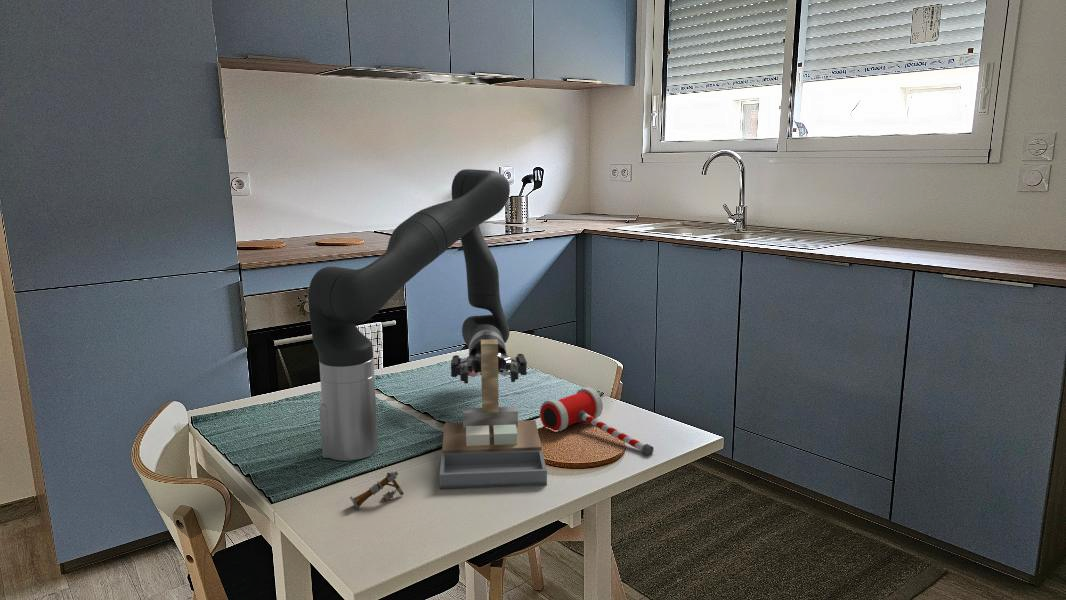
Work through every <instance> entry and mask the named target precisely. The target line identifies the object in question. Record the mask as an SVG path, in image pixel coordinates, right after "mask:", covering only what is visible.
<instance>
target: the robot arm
mask: <svg viewBox="0 0 1066 600" xmlns="http://www.w3.org/2000/svg"><path fill="white" fill-rule="evenodd" d="M510 191H511V185H510V183H509V180H508V178H507V177H506V176H505V175H504V174H502V173H500V172H498V171H495V170H491V169H490V170H489V169H488V170H487V169H474V168H473V169H472V168H471V169H470V168H469V169H468V168H467V169H466V168H465V169H461V170H459V171H458V172H457V173H456V174H455V175H454V176H453V179H452V184H451V200H448V201H447V200H446V201H444V202H441V203H436V204H434V205H431V206H428V207H425V208H423V209H420V210H419V211H417V212H415V213H413V214H412V215H410V216H409V217H408V218H406V219H405V220H404V221H402V222H401V223H400V224H399V225H398V226H396V227H395V228H394V230H393V231H392V233H391V235H390V237H389V240H388V243H387V247H386V250H385V252H384V254H382V255H381V256H380V257H378V258H377V259H375V260H374V261H373V262H371V263H370V264H368V265H366V266H364V267H362V268H358V269H356V268H355V269H354V268H349V267H348V268H347V267H340V266H326V267H322V268H320V269H319V270H317V271H316V273H315V274H314V275H313V277H312V278H311V280H310V284H309V287H308V295H307V298H308V299H307V302H308V303H307V304H308V305H307V306H308V312H309V320H310V321H309V322H310V330H311V337H312V341H313V345H314V347H315V349H316V351H317V354H318V361H319V378H320V392H321V403H320V405H319V407H318V410H319V420H320V422H319V423H320V435H321V436H320V437H321V453H322V458H325V459H326V458H329V459H332V460H335V461H341V462H342V461H344V462H345V461H347V462H348V461H349V462H350V461H357V460H361V459H365V458H367V457H370V456H372V455H374V454H376V452H377V451H378V449H379V442H378V441H379V436H378V423H377V422H378V421H377V420H378V419H377V418H378V417H377V400H376V399H377V398H376V397H377V396H376V380H375V362H374V345H373V342H372V341H371V340H370V339H369V338H368V337H367V336H366V335H364V334H363V333H362V331H360V330H359V328H358V326H357V325H356V324H362V323H365V322H366V321H368V320H370V319H371V318H372V317H373V316H375V315H376V314H377V313H378V312H379V311H380V310H381V309H382V308H383V307H384V306H385V305H386V304H387V303H388V302H389V301H390V299H392V298H393V296H394V295H395V294H396V293H397V292H398V291H399V290H400V289H401V288H402V287H404V285H405V284H407V283H408V282H409V281H411V279H413V278H414V277H415V276H416V275H417V274H419V272H421V271H422V270H423V269H425V268H426V267H427V266H428V265H430V264H431V263H433V261H435V260H436V259H437V258H439V257H440V256H441V255H442V254H444V253H445V252H446V251H447V250H448V249H449V248H450V247H452V246H453V245H454V244H455V243H457V242H458V241H459V240H460V243H461V246H462V252H463V256H464V263H465V269H466V286H467V288H466V289H467V299H468V304H469V305H470V306H472V307H473V308H478V309H481V310H482V309H483V310H487V311H489V312H490V313H491V314H487V315H486V314H485V315H484V314H481V315H472V316H468V317H467V318H466V319H464V321H463V323H462V327H461V336H462V338H463V341H464V343H465V345H466V346H467V347H468V356H467V357H466V359H465V358H464V359H463V358H462V357H460V355H458V354H455V355H453V356H452V359H451V363H450V377H451V378H457V377H458V376H460V381H461V382H463V383H464V384H469V377H472V378H473V377H476V376H478V375H480V376H481V340H491V339H497V341H498V375H501V376H504V377H505V376H509V378H510V382H511V383H515V382H516V380H519V375H520V376H526V375H528V372H527V367H528V366H527V365H528V364H527V363H528V362H527V358H525V355H524V354H523V353H518V354H516V356H515V357H510V356H509V355H508V353H507V349H506V343H507V342H508V339H509V337H510V326H509V324H508V323H509V322H508V321H507V319H506V316H505V313H504V310H503V307H502V302H501V296H500V280H499V279H500V278H499V277H500V274H499V269H498V263H497V262H496V260H495V257H494V255H493V253H492V252H491V249H490V248H489V246H488V244H487V242H486V240H485V239H484V238H485V237H484V236H483V233H482V231H481V228H480V225H481V224H482V223H485V222H486V221H487V220H489V219H491V218H493V217H494V216H496V215H497V214H499V213H500V212H501V211H502V210H503V209H504V207H505V206H506V204H507V202H508V200H509V197H510V193H511V192H510Z"/></svg>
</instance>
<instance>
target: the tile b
mask: <svg viewBox="0 0 1066 600" xmlns="http://www.w3.org/2000/svg"><path fill="white" fill-rule="evenodd" d="M493 437H494V445H509V444H517V429H516V424H515V425H493Z"/></svg>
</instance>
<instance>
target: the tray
mask: <svg viewBox="0 0 1066 600" xmlns="http://www.w3.org/2000/svg"><path fill="white" fill-rule="evenodd" d="M440 456H441V458H440V466H439V467H440V468H439V489H440V490H448V489H449V490H450V489H451V490H453V489H476V488H477V489H478V488H479V489H480V488H502V487H504V488H505V487H528V486H530V487H531V486H547V485H548V470H547V464H546V460H545V457H544V456H545V455H544V451H543V449H542V450H520V451H492V452H464V453H442V452H441V455H440Z"/></svg>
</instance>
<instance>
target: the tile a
mask: <svg viewBox="0 0 1066 600" xmlns="http://www.w3.org/2000/svg"><path fill="white" fill-rule="evenodd" d="M481 445H490V443H489V425H485V426H466V446H481Z"/></svg>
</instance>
